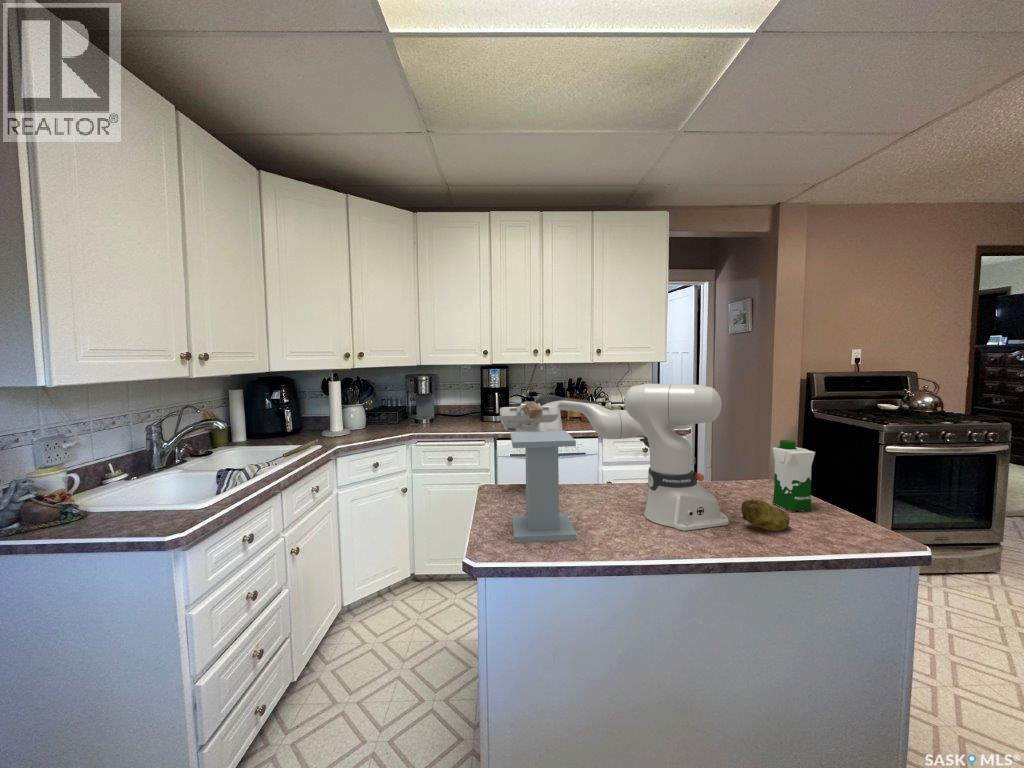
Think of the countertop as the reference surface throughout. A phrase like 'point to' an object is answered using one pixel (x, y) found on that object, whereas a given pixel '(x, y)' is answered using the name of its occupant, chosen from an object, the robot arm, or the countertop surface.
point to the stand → (542, 488)
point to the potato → (764, 515)
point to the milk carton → (792, 476)
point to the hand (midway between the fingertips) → (530, 405)
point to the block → (533, 410)
